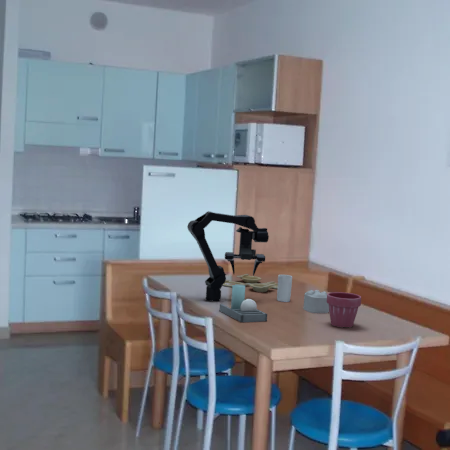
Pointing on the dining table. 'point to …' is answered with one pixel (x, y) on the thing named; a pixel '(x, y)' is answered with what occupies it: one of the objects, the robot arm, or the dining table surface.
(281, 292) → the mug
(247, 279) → the tableware set
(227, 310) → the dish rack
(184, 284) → the dining table surface
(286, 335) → the dining table surface
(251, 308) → the white half-round piece
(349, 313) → the plant pot
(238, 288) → the aqua tapered cylinder
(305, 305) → the lumpy-topped squat cylinder
